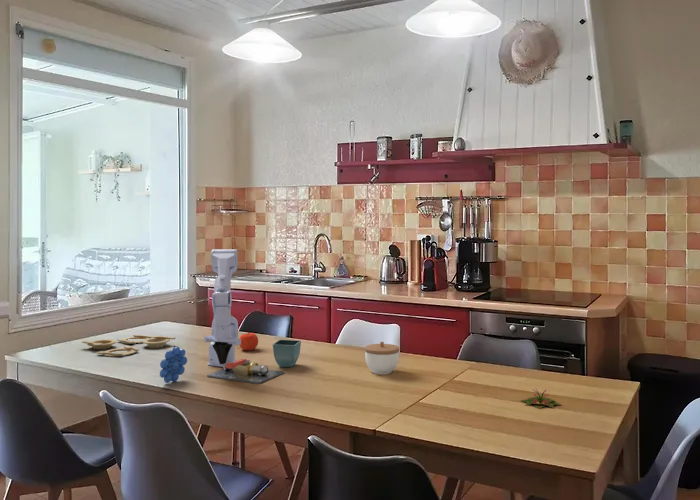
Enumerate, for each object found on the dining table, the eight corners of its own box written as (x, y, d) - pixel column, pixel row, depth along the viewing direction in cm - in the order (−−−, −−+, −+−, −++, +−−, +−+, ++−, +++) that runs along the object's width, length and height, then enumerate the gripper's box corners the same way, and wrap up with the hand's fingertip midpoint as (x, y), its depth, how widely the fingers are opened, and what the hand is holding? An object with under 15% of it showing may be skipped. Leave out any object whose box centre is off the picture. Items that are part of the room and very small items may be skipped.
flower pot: (295, 369, 232) (294, 345, 231) (272, 367, 233) (272, 344, 233) (301, 363, 240) (301, 340, 240) (279, 362, 242) (279, 339, 241)
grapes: (178, 376, 222) (177, 342, 221) (191, 378, 218) (191, 344, 217) (151, 383, 212) (151, 348, 211) (165, 386, 208) (164, 351, 208)
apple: (262, 349, 265) (262, 330, 265) (249, 352, 258) (249, 333, 258) (248, 347, 269) (247, 328, 269) (235, 350, 263) (234, 331, 262)
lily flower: (538, 413, 182) (538, 397, 182) (511, 401, 193) (511, 387, 193) (569, 407, 187) (570, 392, 187) (542, 397, 198) (542, 382, 198)
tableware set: (142, 337, 292) (142, 328, 292) (183, 345, 275) (183, 336, 275) (71, 351, 264) (71, 341, 264) (112, 360, 247) (112, 350, 247)
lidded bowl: (404, 369, 230) (404, 340, 229) (391, 378, 219) (392, 346, 218) (372, 366, 235) (372, 337, 235) (359, 374, 224) (359, 343, 223)
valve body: (207, 376, 221) (206, 364, 221) (234, 366, 235) (234, 355, 235) (259, 384, 211) (258, 371, 211) (284, 373, 226) (284, 361, 225)
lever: (244, 362, 226) (244, 356, 226) (251, 363, 225) (251, 357, 225) (224, 369, 216) (224, 363, 216) (232, 370, 215) (232, 364, 215)
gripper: (198, 325, 219) (199, 363, 220) (232, 328, 213) (232, 368, 214) (211, 322, 226) (211, 359, 227) (244, 325, 219) (244, 363, 220)
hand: (222, 363), depth 221 cm, fingers closed
